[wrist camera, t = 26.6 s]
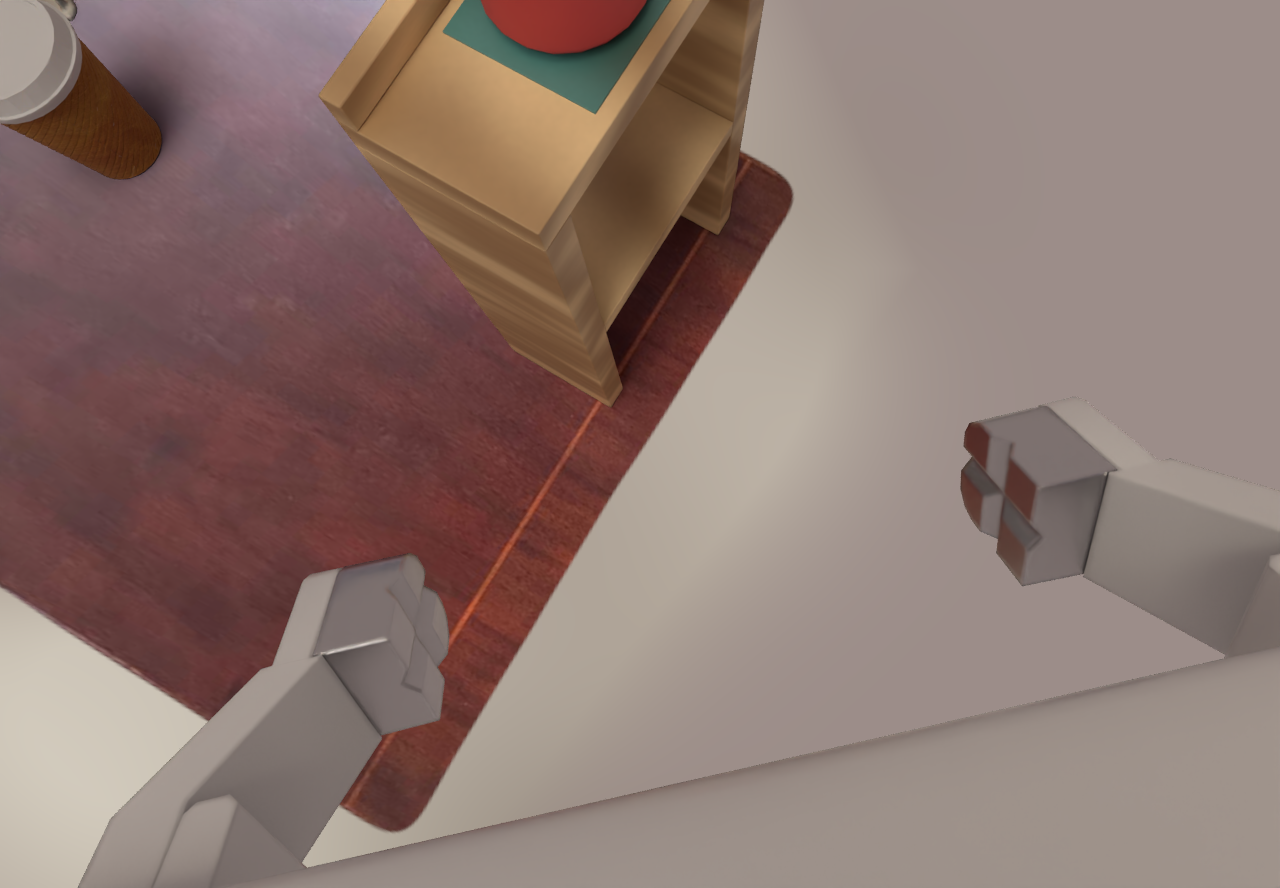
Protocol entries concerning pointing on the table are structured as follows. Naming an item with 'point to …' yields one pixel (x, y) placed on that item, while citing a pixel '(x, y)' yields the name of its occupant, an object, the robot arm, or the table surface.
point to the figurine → (64, 7)
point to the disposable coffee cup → (69, 94)
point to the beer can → (562, 22)
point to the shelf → (552, 156)
